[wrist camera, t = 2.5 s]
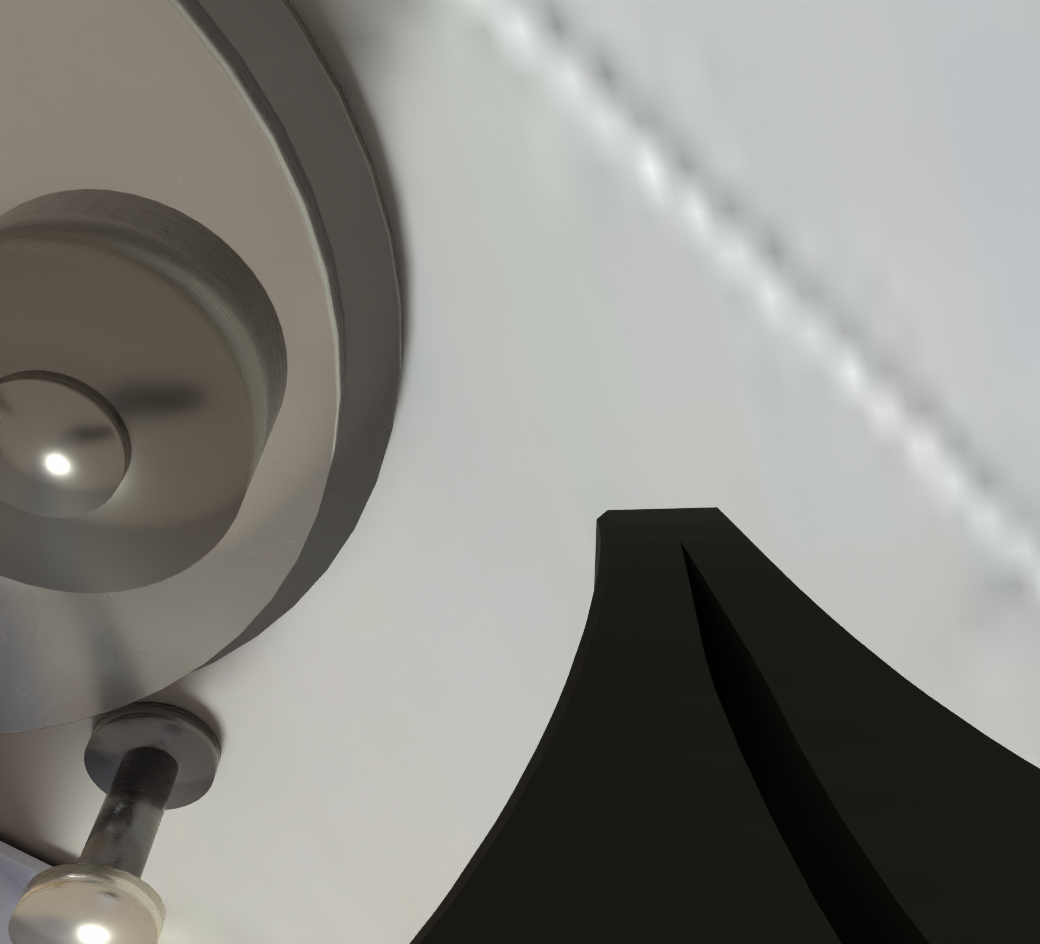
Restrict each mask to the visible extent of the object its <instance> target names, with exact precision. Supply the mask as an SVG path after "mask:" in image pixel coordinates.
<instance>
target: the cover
mask: <svg viewBox="0 0 1040 944" xmlns="http://www.w3.org/2000/svg"><path fill="white" fill-rule="evenodd" d="M287 370H288V365H287V352H286V345H285V340H284V336H283V331H282V327H281V324H280V322H279V319H278V316H277V313H276V311H275V308H274V306H273V304H272V302H271V300H270V298H269V296H268V294H267V292H266V290H265V289H264V287H263V286H262V284H261V283H260V281H259V280H258V278H257V277H256V275H255V274H254V273H253V271H252V270H251V269H250V268H249V266H248V265H247V264H246V263H245V262H244V261H243V259H242V258H241V257H240V256H239V255H238V254H237V253H236V252H235V251H234V250H233V249H232V248H231V247H230V246H229V245H228V244H227V243H225V242H224V241H223V240H222V239H221V238H220V237H219V236H217V235H216V234H215V233H213V232H212V231H211V230H209V229H208V228H206V227H205V226H204V225H202V224H201V223H199V222H198V221H196V220H194V219H192V218H191V217H189V216H187V215H185V214H184V213H182V212H180V211H178V210H176V209H174V208H171V207H169V206H167V205H164V204H162V203H160V202H157V201H155V200H151V199H148V198H145V197H141V196H138V195H135V194H130V193H124V192H118V191H112V190H99V189H78V190H67V191H60V192H56V193H51V194H47V195H43V196H40V197H37V198H34V199H32V200H29V201H27V202H24V203H22V204H20V205H18V206H16V207H15V208H13V209H11V210H10V211H8V212H6V213H5V214H3V215H1V216H0V576H2V577H5V578H8V579H12V580H15V581H18V582H21V583H24V584H27V585H32V586H36V587H41V588H45V589H50V590H57V591H65V592H73V593H109V592H121V591H126V590H131V589H137V588H142V587H145V586H148V585H152V584H155V583H158V582H161V581H164V580H166V579H168V578H170V577H172V576H175V575H177V574H179V573H181V572H183V571H184V570H186V569H187V568H189V567H191V566H192V565H194V564H195V563H197V562H198V561H200V560H201V559H202V558H203V557H204V556H205V555H207V554H208V553H209V552H210V551H211V550H212V549H213V548H214V547H215V546H216V545H217V544H218V543H219V542H220V540H221V539H222V538H223V537H224V536H225V534H226V533H227V532H228V530H229V528H230V527H231V525H232V523H233V522H234V520H235V518H236V517H237V515H238V512H239V510H240V507H241V505H242V502H243V500H244V497H245V495H246V492H247V490H248V487H249V485H250V483H251V480H252V478H253V475H254V473H255V470H256V468H257V465H258V463H259V460H260V458H261V455H262V453H263V451H264V448H265V446H266V443H267V441H268V438H269V436H270V433H271V431H272V428H273V426H274V423H275V421H276V418H277V416H278V413H279V411H280V408H281V406H282V403H283V399H284V394H285V390H286V383H287Z"/></svg>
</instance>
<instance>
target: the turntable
mask: <svg viewBox="0 0 1040 944" xmlns="http://www.w3.org/2000/svg"><path fill="white" fill-rule="evenodd" d="M78 189H99V190H112V191H118V192H124V193H130V194H135V195H138V196H141V197H145V198H148V199H151V200H155V201H157V202H160V203H162V204H164V205H167V206H169V207H171V208H174V209H176V210H178V211H180V212H182V213H184V214H185V215H187V216H189V217H191V218H192V219H194V220H196V221H198V222H199V223H201V224H202V225H204V226H205V227H206V228H208V229H209V230H211V231H212V232H213V233H215V234H216V235H217V236H219V237H220V238H221V239H222V240H223V241H224V242H225V243H227V244H228V245H229V246H230V247H231V248H232V249H233V250H234V251H235V252H236V253H237V254H238V255H239V256H240V257H241V258H242V259H243V261H244V262H245V263H246V264H247V265H248V266H249V268H250V269H251V270H252V271H253V273H254V274H255V275H256V277H257V278H258V280H259V281H260V283H261V284H262V286H263V287H264V289H265V290H266V292H267V294H268V296H269V298H270V300H271V302H272V304H273V306H274V308H275V311H276V313H277V316H278V319H279V322H280V324H281V327H282V331H283V336H284V340H285V345H286V352H287V365H288V370H287V383H286V390H285V394H284V399H283V403H282V406H281V408H280V411H279V413H278V416H277V418H276V421H275V423H274V426H273V428H272V431H271V433H270V436H269V438H268V441H267V443H266V446H265V448H264V451H263V453H262V455H261V458H260V460H259V463H258V465H257V468H256V470H255V473H254V475H253V478H252V480H251V483H250V485H249V487H248V490H247V492H246V495H245V497H244V500H243V502H242V505H241V507H240V510H239V512H238V515H237V517H236V518H235V520H234V522H233V523H232V525H231V527H230V528H229V530H228V532H227V533H226V534H225V536H224V537H223V538H222V539H221V540H220V542H219V543H218V544H217V545H216V546H215V547H214V548H213V549H212V550H211V551H210V552H209V553H208V554H207V555H205V556H204V557H203V558H202V559H201V560H200V561H198V562H197V563H195V564H194V565H192V566H191V567H189V568H187V569H186V570H184V571H183V572H181V573H179V574H177V575H175V576H172V577H170V578H168V579H166V580H164V581H161V582H158V583H155V584H152V585H148V586H145V587H142V588H137V589H131V590H126V591H121V592H109V593H73V592H65V591H57V590H50V589H45V588H41V587H36V586H32V585H27V584H24V583H21V582H18V581H15V580H12V579H8V578H5V577H2V576H0V734H2V733H14V732H23V731H29V730H34V729H40V728H45V727H51V726H56V725H62V724H67V723H72V722H75V721H79V720H82V719H85V718H89V717H92V716H95V715H99V714H102V713H105V712H108V711H112V710H115V709H118V708H121V707H123V706H125V705H128V704H130V703H132V702H134V701H137V700H139V699H141V698H144V697H146V696H148V695H150V694H153V693H155V692H157V691H160V690H162V689H164V688H165V687H167V686H169V685H170V684H172V683H174V682H175V681H177V680H179V679H180V678H182V677H184V676H185V675H187V674H189V673H190V672H192V671H193V670H195V669H197V668H198V667H200V666H202V665H203V664H205V663H206V662H207V661H208V660H209V659H211V658H212V657H213V656H214V655H216V654H217V653H218V652H219V651H220V650H222V649H223V648H224V647H225V646H227V645H228V644H229V643H230V642H231V641H233V640H234V639H235V638H236V637H238V636H239V635H240V634H241V633H242V632H243V631H244V629H245V628H246V627H247V626H248V625H249V624H250V623H251V622H252V621H253V619H254V618H255V617H256V616H257V615H258V614H259V613H260V612H261V611H262V609H263V608H264V607H265V606H266V605H267V604H268V603H269V602H270V601H271V599H272V598H273V596H274V595H275V593H276V592H277V590H278V589H279V587H280V586H281V584H282V582H283V581H284V579H285V578H286V576H287V575H288V573H289V572H290V570H291V569H292V567H293V566H294V564H295V562H296V561H297V559H298V557H299V555H300V553H301V550H302V548H303V546H304V544H305V541H306V539H307V537H308V534H309V532H310V530H311V528H312V525H313V523H314V521H315V519H316V516H317V514H318V511H319V507H320V503H321V500H322V496H323V493H324V489H325V485H326V482H327V478H328V475H329V471H330V467H331V463H332V459H333V456H334V452H335V448H336V444H337V440H338V437H339V433H340V429H341V424H342V415H343V405H344V396H345V386H346V377H347V362H346V337H345V315H344V309H343V304H342V298H341V292H340V287H339V281H338V276H337V270H336V265H335V259H334V254H333V251H332V248H331V245H330V241H329V238H328V235H327V232H326V229H325V226H324V222H323V219H322V216H321V213H320V210H319V207H318V204H317V200H316V197H315V194H314V191H313V189H312V187H311V184H310V182H309V180H308V178H307V176H306V173H305V171H304V169H303V167H302V165H301V163H300V160H299V158H298V156H297V154H296V152H295V149H294V147H293V145H292V143H291V141H290V139H289V136H288V134H287V132H286V130H285V128H284V125H283V124H282V122H281V120H280V119H279V117H278V115H277V114H276V112H275V111H274V109H273V107H272V106H271V104H270V102H269V101H268V99H267V97H266V96H265V94H264V93H263V91H262V89H261V88H260V86H259V84H258V83H257V81H256V79H255V78H254V76H253V74H252V73H251V71H250V70H249V68H248V66H247V65H246V63H245V61H244V60H243V58H242V57H241V55H240V54H239V53H238V52H237V50H236V49H235V48H234V46H233V45H232V44H231V43H230V41H229V40H228V39H227V37H226V36H225V35H224V34H223V32H222V31H221V30H220V28H219V27H218V26H217V25H216V23H215V22H214V21H213V19H212V18H211V17H210V15H209V14H208V13H207V12H206V10H205V9H204V8H203V6H202V5H201V4H200V3H199V1H198V0H0V216H1V215H3V214H5V213H6V212H8V211H10V210H11V209H13V208H15V207H16V206H18V205H20V204H22V203H24V202H27V201H29V200H32V199H34V198H37V197H40V196H43V195H47V194H51V193H56V192H60V191H67V190H78Z"/></svg>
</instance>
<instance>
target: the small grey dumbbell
mask: <svg viewBox="0 0 1040 944" xmlns="http://www.w3.org/2000/svg"><path fill="white" fill-rule="evenodd" d="M219 760H220V747H219V744H218V741H217V739H216V737H215V735H214V734H213V732H212V731H211V729H210V728H209V727H208V726H207V725H206V724H205V723H203V722H202V721H201V720H200V719H198V718H197V717H195V716H194V715H192V714H190V713H188V712H187V711H184V710H182V709H179V708H177V707H173V706H170V705H165V704H160V703H134V704H128V705H125V706H123V707H121V708H118V709H115V710H112V711H111V712H109V713H108V714H106V715H105V716H104V717H103V718H102V719H101V720H100V721H99V722H98V724H97V726H96V728H95V730H94V732H93V734H92V736H91V738H90V740H89V742H88V744H87V747H86V750H85V755H84V761H85V766H86V770H87V772H88V774H89V776H90V777H91V779H92V780H93V782H94V783H95V784H96V785H97V786H98V787H99V788H100V789H101V790H102V791H104V792H105V793H106V794H107V795H106V798H105V800H104V802H103V805H102V807H101V809H100V812H99V814H98V816H97V819H96V821H95V823H94V826H93V828H92V830H91V833H90V835H89V837H88V840H87V842H86V844H85V847H84V849H83V851H82V854H81V856H80V858H79V861H78V863H71V864H63V865H58V866H55V867H51V868H49V869H46V870H44V871H42V872H40V873H38V874H37V875H36V876H34V877H33V878H32V879H31V880H30V881H29V882H28V883H27V885H26V887H25V888H24V890H23V892H22V895H21V897H20V899H19V901H18V903H17V905H16V907H15V909H14V912H13V914H12V916H11V918H10V921H9V925H8V933H9V937H10V940H11V942H12V944H158V941H159V937H160V934H161V931H162V928H163V925H164V921H165V907H164V904H163V902H162V900H161V898H160V897H159V895H158V894H157V893H156V892H155V890H154V889H153V888H152V887H150V886H149V885H148V884H147V883H146V882H144V881H143V880H141V879H140V878H141V875H142V872H143V869H144V867H145V864H146V861H147V858H148V855H149V853H150V850H151V847H152V844H153V841H154V839H155V836H156V833H157V830H158V827H159V825H160V822H161V819H162V816H163V813H164V810H167V809H175V808H180V807H183V806H186V805H189V804H191V803H193V802H195V801H197V800H198V799H200V798H201V797H202V796H204V795H205V793H206V792H207V791H208V790H209V788H210V787H211V785H212V783H213V780H214V777H215V774H216V771H217V767H218V764H219Z"/></svg>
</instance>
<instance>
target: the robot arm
mask: <svg viewBox="0 0 1040 944" xmlns="http://www.w3.org/2000/svg"><path fill="white" fill-rule="evenodd" d="M51 867H53V866H51V865H48V864H46V863H44V862H42V861H40V860H38V859H36V858H34V857H32V856H30V855H28V854H26V853H24V852H22V851H20V850H18V849H16V848H14V847H12V846H10V845H8V844H6V843H4V842H2V841H0V944H12V942H11V940H10V937H9V933H8V925H9V921H10V918H11V916H12V914H13V912H14V909H15V907H16V905H17V903H18V901H19V899H20V897H21V895H22V892H23V890H24V888H25V887H26V885H27V883H28V882H29V881H30V880H31V879H32V878H33V877H34V876H36V875H37V874H38V873H40V872H42V871H44V870H46V869H49V868H51ZM410 944H1040V769H1039V768H1038V767H1036V766H1034V765H1033V764H1031V763H1029V762H1027V761H1026V760H1024V759H1023V758H1021V757H1019V756H1018V755H1016V754H1015V753H1013V752H1011V751H1010V750H1008V749H1007V748H1005V747H1003V746H1002V745H1000V744H999V743H997V742H996V741H994V740H992V739H991V738H989V737H988V736H986V735H985V734H983V733H982V732H980V731H979V730H977V729H976V728H975V727H973V726H972V725H970V724H969V723H967V722H966V721H964V720H963V719H962V718H960V717H959V716H957V715H956V714H954V713H953V712H951V711H950V710H948V709H947V708H946V707H944V706H943V705H941V704H940V703H938V702H937V701H935V700H934V699H933V698H931V697H930V696H928V695H927V694H926V693H924V692H923V691H921V690H920V689H919V688H917V687H916V686H915V685H913V684H912V683H911V682H909V681H908V680H907V679H905V678H904V677H903V676H901V675H900V674H899V673H898V672H896V671H895V670H894V669H893V668H891V667H890V666H889V665H888V664H886V663H885V662H884V661H883V660H881V659H880V658H879V657H878V656H877V655H875V654H874V653H873V652H872V651H870V650H869V649H868V648H867V647H865V646H864V645H863V644H862V643H860V642H859V641H858V640H857V639H855V638H854V637H853V636H852V635H851V634H850V633H848V632H847V631H846V630H845V629H844V628H843V627H842V626H840V625H839V624H838V623H837V622H836V621H835V620H833V619H832V618H831V617H830V616H829V615H828V614H827V613H826V612H824V611H823V610H822V609H821V608H820V607H819V606H818V605H817V604H816V603H815V602H813V601H812V600H811V599H810V598H809V597H808V596H807V595H806V594H805V593H804V592H803V591H801V590H800V589H799V588H798V587H797V586H796V585H795V584H794V583H793V582H792V581H791V580H790V579H789V578H788V577H787V576H786V575H785V574H784V573H783V572H782V571H781V570H780V569H779V568H778V567H777V566H776V565H775V564H774V563H772V562H771V561H770V560H769V559H768V558H767V557H766V556H765V555H764V554H763V553H762V552H761V551H760V550H759V549H758V548H757V547H756V546H755V545H754V544H753V543H752V542H751V541H750V540H749V539H748V538H747V537H746V536H745V535H744V534H743V533H742V532H741V531H740V530H739V529H738V528H737V527H736V526H735V525H734V524H733V523H732V522H731V521H730V520H729V519H728V518H727V517H726V516H725V515H724V514H723V513H722V512H721V511H720V510H719V509H718V508H717V507H715V508H676V509H637V510H607V511H606V512H605V513H604V514H602V515H601V516H600V517H599V518H598V519H597V526H596V555H595V583H594V593H593V597H592V602H591V606H590V610H589V614H588V618H587V622H586V626H585V629H584V632H583V635H582V638H581V641H580V644H579V647H578V650H577V653H576V655H575V658H574V661H573V664H572V667H571V670H570V673H569V676H568V678H567V681H566V684H565V686H564V688H563V691H562V693H561V696H560V698H559V701H558V703H557V705H556V708H555V710H554V712H553V715H552V717H551V719H550V721H549V723H548V725H547V727H546V730H545V732H544V734H543V736H542V738H541V740H540V742H539V744H538V746H537V748H536V750H535V752H534V754H533V756H532V758H531V760H530V762H529V764H528V765H527V767H526V769H525V771H524V773H523V775H522V777H521V778H520V780H519V782H518V784H517V786H516V788H515V790H514V791H513V793H512V795H511V797H510V799H509V800H508V802H507V804H506V805H505V807H504V809H503V811H502V812H501V814H500V816H499V817H498V819H497V820H496V822H495V824H494V825H493V827H492V828H491V830H490V831H489V833H488V834H487V836H486V837H485V839H484V840H483V842H482V843H481V845H480V846H479V848H478V849H477V851H476V852H475V854H474V855H473V857H472V858H471V860H470V862H469V863H468V865H467V866H466V868H465V869H464V871H463V872H462V874H461V875H460V877H459V878H458V880H457V881H456V883H455V884H454V886H453V887H452V889H451V890H450V892H449V893H448V894H447V896H446V897H445V898H444V900H443V901H442V903H441V904H440V905H439V907H438V908H437V909H436V911H435V912H434V913H433V915H432V916H431V917H430V919H429V920H428V921H427V922H426V924H425V925H424V926H423V927H422V929H421V930H420V931H419V932H418V934H417V935H416V936H415V937H414V939H413V940H412V941H411V943H410Z"/></svg>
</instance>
